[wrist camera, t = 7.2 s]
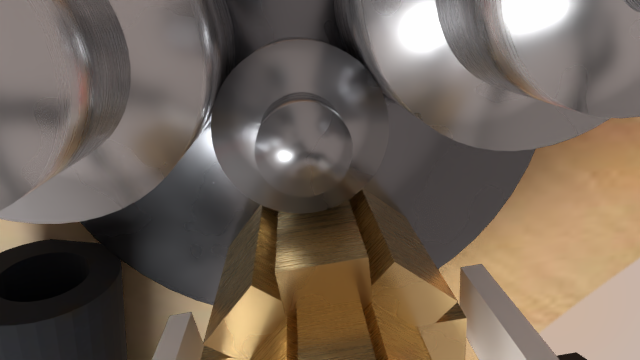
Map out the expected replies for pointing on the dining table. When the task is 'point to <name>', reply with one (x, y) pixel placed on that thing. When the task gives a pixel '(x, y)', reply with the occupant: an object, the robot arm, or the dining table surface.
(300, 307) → the brass stepped collar
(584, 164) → the dining table surface
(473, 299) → the robot arm
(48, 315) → the pipe connector
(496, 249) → the dining table surface
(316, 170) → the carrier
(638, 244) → the dining table surface
